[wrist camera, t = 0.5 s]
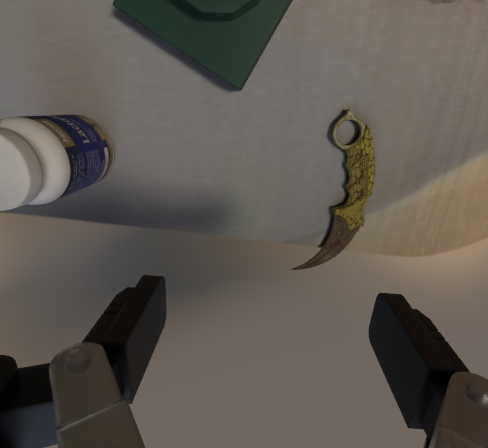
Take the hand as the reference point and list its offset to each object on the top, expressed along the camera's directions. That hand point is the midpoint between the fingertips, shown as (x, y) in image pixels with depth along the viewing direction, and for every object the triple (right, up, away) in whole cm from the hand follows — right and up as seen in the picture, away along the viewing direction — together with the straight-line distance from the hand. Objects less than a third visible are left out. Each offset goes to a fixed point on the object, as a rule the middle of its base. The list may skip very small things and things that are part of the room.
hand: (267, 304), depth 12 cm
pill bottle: (-15, +9, +15) cm, 23 cm away
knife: (+5, +5, +15) cm, 16 cm away
